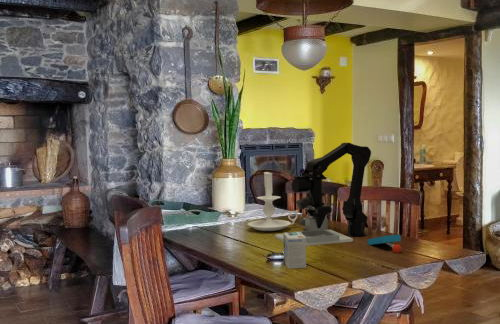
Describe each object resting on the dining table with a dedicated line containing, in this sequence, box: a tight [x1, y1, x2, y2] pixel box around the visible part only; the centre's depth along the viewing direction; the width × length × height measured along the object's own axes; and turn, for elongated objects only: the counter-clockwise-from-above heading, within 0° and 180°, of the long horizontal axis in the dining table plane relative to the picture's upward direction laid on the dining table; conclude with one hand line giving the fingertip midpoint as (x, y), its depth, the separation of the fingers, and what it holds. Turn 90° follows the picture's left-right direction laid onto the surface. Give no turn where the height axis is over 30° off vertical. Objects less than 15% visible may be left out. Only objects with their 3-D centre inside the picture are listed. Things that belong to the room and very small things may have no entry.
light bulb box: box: [282, 231, 307, 270], centre depth 195 cm, size 11×7×11 cm, turn 5°
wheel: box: [298, 217, 306, 226], centre depth 244 cm, size 6×6×3 cm
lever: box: [367, 234, 402, 254], centre depth 217 cm, size 7×7×18 cm
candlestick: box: [247, 171, 299, 232], centre depth 261 cm, size 21×25×28 cm
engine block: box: [304, 214, 329, 231], centre depth 233 cm, size 8×5×6 cm, turn 107°
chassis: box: [274, 228, 354, 247], centre depth 237 cm, size 27×22×3 cm
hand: (316, 227), depth 233 cm, fingers closed on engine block, 5 cm apart
